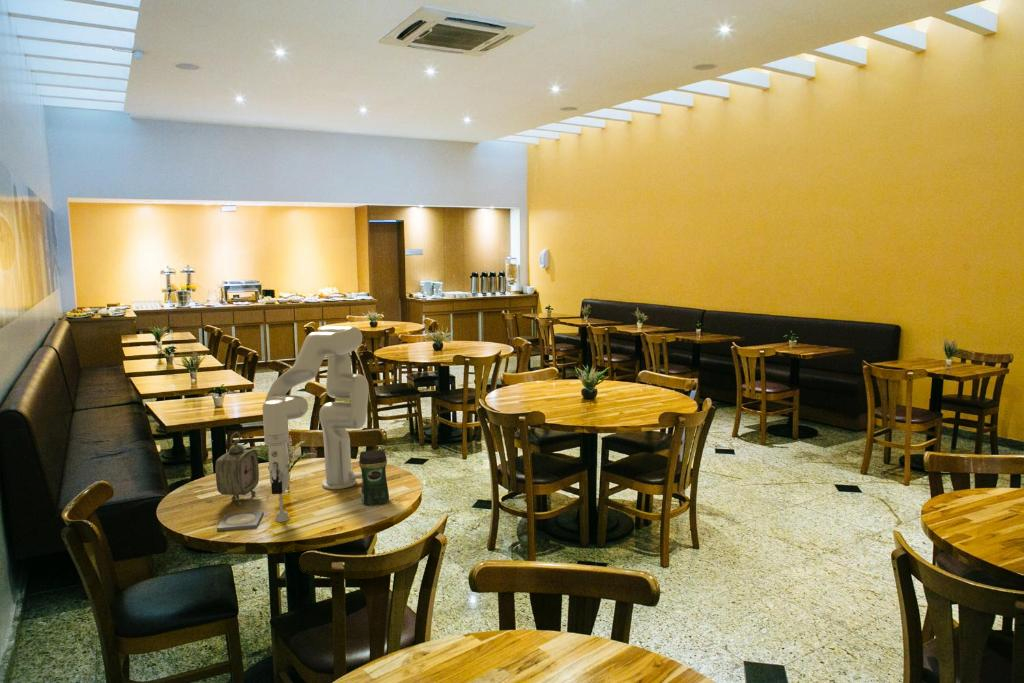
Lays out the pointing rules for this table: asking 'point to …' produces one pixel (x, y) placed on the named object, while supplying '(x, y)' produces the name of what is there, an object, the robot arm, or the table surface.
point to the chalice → (282, 514)
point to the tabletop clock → (237, 471)
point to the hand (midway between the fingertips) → (279, 488)
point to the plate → (240, 520)
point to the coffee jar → (373, 477)
